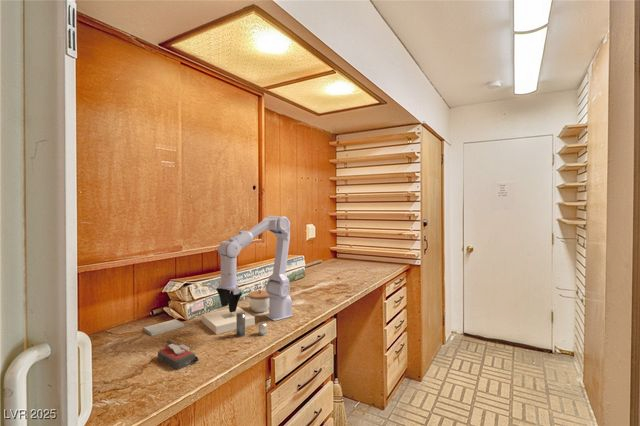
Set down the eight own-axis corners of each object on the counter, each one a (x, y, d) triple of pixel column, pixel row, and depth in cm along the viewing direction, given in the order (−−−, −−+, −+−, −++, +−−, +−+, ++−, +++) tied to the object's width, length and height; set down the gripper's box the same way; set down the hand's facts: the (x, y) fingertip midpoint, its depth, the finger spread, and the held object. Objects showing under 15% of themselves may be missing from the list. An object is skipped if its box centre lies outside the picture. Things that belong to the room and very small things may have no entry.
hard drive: (151, 333, 118) (184, 323, 127) (142, 327, 123) (174, 318, 133) (151, 337, 118) (184, 327, 127) (142, 331, 123) (174, 322, 133)
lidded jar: (243, 312, 144) (243, 292, 144) (255, 305, 154) (255, 286, 154) (265, 315, 141) (265, 294, 140) (275, 307, 151) (275, 288, 151)
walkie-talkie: (204, 361, 101) (170, 344, 113) (204, 347, 101) (170, 331, 112) (178, 373, 94) (144, 353, 105) (178, 358, 94) (144, 340, 105)
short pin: (264, 331, 124) (264, 321, 123) (268, 334, 121) (268, 323, 121) (256, 333, 121) (256, 323, 121) (260, 336, 119) (260, 325, 119)
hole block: (237, 313, 143) (237, 306, 143) (254, 324, 130) (254, 317, 130) (201, 321, 133) (201, 314, 132) (216, 334, 120) (216, 326, 120)
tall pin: (242, 332, 122) (242, 311, 122) (246, 335, 120) (246, 314, 119) (234, 334, 120) (235, 313, 120) (238, 337, 118) (238, 316, 117)
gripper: (211, 270, 123) (211, 305, 124) (225, 278, 112) (225, 316, 112) (228, 268, 128) (228, 302, 128) (244, 275, 116) (244, 312, 117)
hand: (228, 308), depth 120 cm, fingers open, 7 cm apart
